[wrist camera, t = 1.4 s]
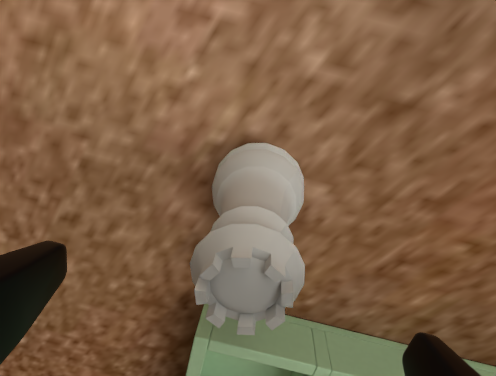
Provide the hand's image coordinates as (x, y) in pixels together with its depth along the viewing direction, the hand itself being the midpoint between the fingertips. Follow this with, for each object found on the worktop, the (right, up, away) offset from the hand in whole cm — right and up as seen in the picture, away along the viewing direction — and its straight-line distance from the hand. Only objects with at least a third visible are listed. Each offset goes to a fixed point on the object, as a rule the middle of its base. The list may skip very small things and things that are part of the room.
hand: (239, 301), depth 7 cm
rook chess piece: (+1, +3, +8) cm, 8 cm away
